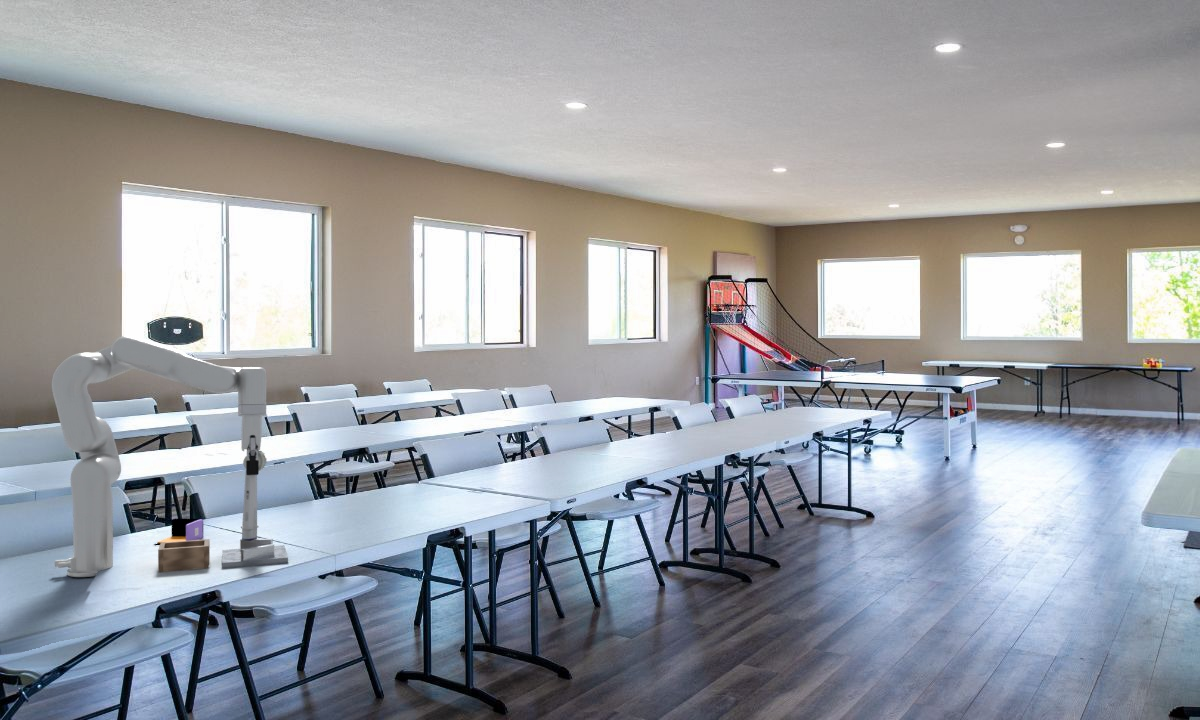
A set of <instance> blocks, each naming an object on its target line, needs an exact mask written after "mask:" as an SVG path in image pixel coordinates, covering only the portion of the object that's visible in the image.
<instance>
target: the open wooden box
mask: <svg viewBox="0 0 1200 720" xmlns="http://www.w3.org/2000/svg"><path fill="white" fill-rule="evenodd" d="M210 545H211V544H210V538H208V539H207V538H206V539H204V538H203V539H198V540H190V541H176V542H162V543H161V544H160V546H158V549H157V552H158V555H157V558H158V559H157V562H158V563H157V564H158V565H157V566H158V567H157V571H158V573H165V572H166V573H167V572H178V571H180V572H181V571H189V570H190V571H191V570H200V569H201V570H203V569H209V568H210V559H211V558H210V557H211V556H210V555H211V554H210V549H211V547H210Z"/></svg>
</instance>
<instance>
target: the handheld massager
mask: <svg viewBox="0 0 1200 720" xmlns="http://www.w3.org/2000/svg"><path fill="white" fill-rule="evenodd" d="M258 460H259V472H260V471H261V470H263V469H264V468H265V466H266V464H267V457H266V455H265V452H264V451H262V450H259V451H258ZM246 461H247V455H246V456H245V457H244V459H243V462H242V463H243V468H245V469H246ZM244 474H245V475H244V490H243V491H244V493H243V494H244V495H243V507H242V524H241V526H240V528H241V529H242V530H241V539H242V540H243V541H251V540H256V539H258V528H259V525H258V475H247V474H246V473H244Z"/></svg>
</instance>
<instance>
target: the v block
mask: <svg viewBox="0 0 1200 720" xmlns="http://www.w3.org/2000/svg"><path fill="white" fill-rule="evenodd" d="M239 541H240V542H239V548H234V549H233V548H232V549H222V551H221V552H222V553H221V569H230V568H243V567H253V566H254V567H257V566H267V565H268V566H269V565H280V564H289V557H288V553H287V551H286V547H285V545H275V544H273V543H274V542H273V541H274V538H257V539H256V540H251V541H243V540H242V538H241V539H240V540H239Z"/></svg>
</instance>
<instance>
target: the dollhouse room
mask: <svg viewBox="0 0 1200 720" xmlns="http://www.w3.org/2000/svg"><path fill="white" fill-rule="evenodd" d="M203 537H204V518H173V519H171V536H169V537H167V538H163V539H161V540H159V541H157V542H156V543H157V544H156V543H154V544H153V545H160V544H161V543H162V542H176V541H190V540H201V539H202V538H203Z"/></svg>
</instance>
